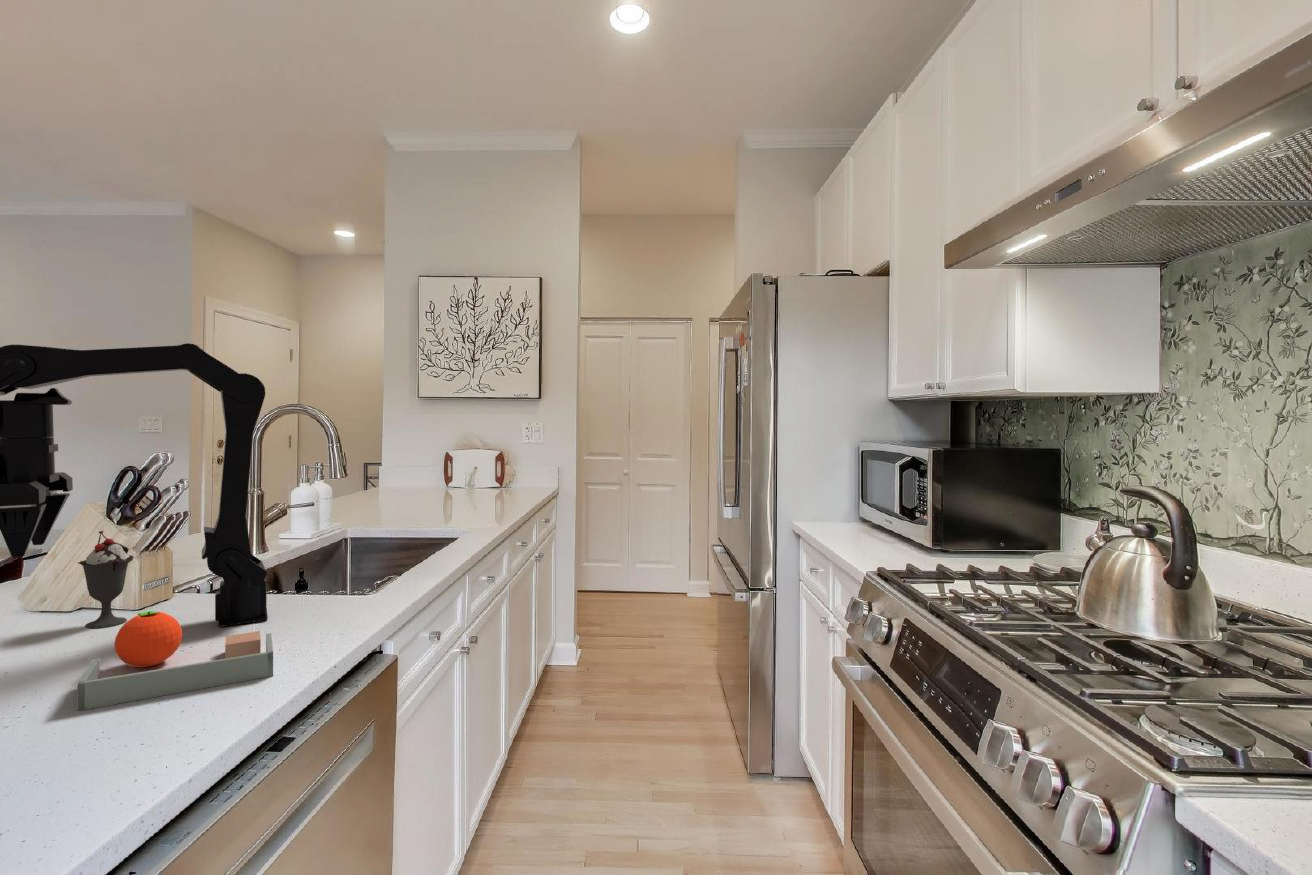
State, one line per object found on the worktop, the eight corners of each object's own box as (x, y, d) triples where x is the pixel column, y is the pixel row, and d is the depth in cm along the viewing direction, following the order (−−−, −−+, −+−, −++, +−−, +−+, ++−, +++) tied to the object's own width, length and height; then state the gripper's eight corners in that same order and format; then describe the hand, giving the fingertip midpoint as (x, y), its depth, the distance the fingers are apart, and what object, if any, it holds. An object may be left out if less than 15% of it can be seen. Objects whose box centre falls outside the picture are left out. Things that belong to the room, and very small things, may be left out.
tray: (271, 654, 86) (271, 633, 86) (273, 675, 79) (273, 652, 79) (93, 683, 76) (93, 659, 76) (77, 710, 69) (77, 683, 69)
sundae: (86, 633, 93) (86, 533, 93) (71, 625, 97) (70, 529, 96) (141, 621, 99) (140, 528, 98) (124, 614, 102) (124, 523, 102)
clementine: (104, 665, 82) (104, 611, 81) (168, 649, 87) (168, 599, 87) (124, 680, 77) (124, 623, 77) (190, 663, 83) (190, 610, 83)
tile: (259, 648, 89) (259, 630, 89) (260, 657, 86) (260, 639, 86) (225, 653, 87) (225, 636, 87) (225, 663, 84) (225, 644, 83)
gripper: (-34, 436, 89) (-30, 545, 89) (-96, 441, 73) (-90, 573, 74) (71, 435, 95) (75, 537, 95) (35, 439, 79) (39, 561, 80)
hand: (28, 550), depth 86 cm, fingers open, 9 cm apart
